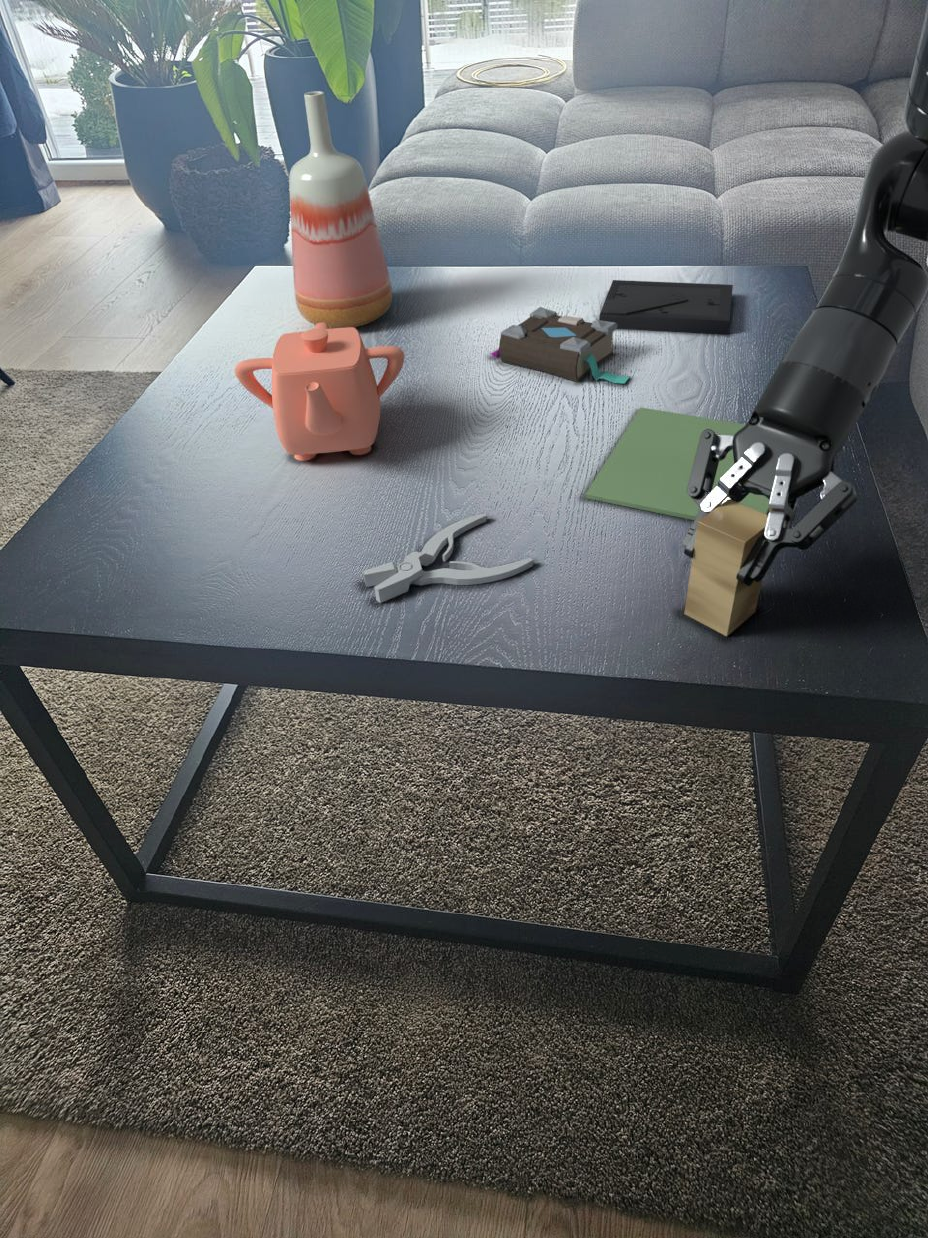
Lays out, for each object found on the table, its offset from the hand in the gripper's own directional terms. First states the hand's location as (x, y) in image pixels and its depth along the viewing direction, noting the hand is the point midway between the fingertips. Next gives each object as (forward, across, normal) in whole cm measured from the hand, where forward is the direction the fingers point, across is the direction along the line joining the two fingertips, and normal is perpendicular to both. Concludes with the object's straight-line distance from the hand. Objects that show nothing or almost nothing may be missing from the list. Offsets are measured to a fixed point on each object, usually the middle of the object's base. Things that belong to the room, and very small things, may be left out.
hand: (716, 568), depth 71 cm
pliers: (+12, -23, -3) cm, 26 cm away
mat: (-10, -16, +19) cm, 27 cm away
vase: (-11, -79, +20) cm, 83 cm away
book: (-18, -44, +27) cm, 55 cm away
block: (+3, 0, +6) cm, 6 cm away
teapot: (+6, -51, +3) cm, 51 cm away
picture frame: (-33, -43, +42) cm, 69 cm away
